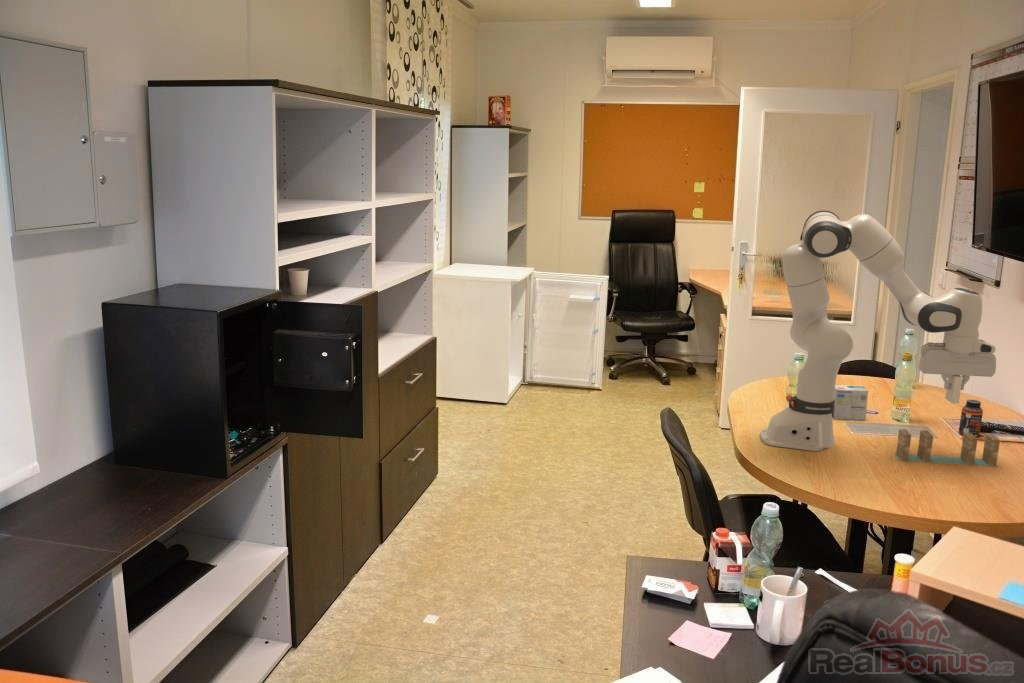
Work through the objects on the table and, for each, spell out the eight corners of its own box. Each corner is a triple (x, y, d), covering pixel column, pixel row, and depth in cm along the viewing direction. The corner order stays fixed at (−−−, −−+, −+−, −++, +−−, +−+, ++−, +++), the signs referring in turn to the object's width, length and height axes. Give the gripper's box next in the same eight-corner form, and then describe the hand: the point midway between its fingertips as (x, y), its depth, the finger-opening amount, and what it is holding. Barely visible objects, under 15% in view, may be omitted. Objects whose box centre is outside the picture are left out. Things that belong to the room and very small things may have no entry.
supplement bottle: (968, 438, 258) (973, 404, 256) (954, 432, 264) (958, 399, 261) (983, 436, 260) (988, 403, 257) (969, 430, 266) (973, 397, 263)
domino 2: (922, 461, 237) (925, 435, 235) (917, 455, 242) (920, 430, 240) (929, 462, 237) (933, 436, 235) (924, 455, 242) (927, 430, 240)
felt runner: (899, 461, 238) (899, 460, 238) (893, 454, 244) (893, 453, 244) (998, 467, 234) (998, 466, 234) (990, 460, 240) (990, 459, 239)
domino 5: (988, 465, 234) (992, 439, 233) (982, 459, 239) (985, 433, 237) (996, 466, 234) (1000, 439, 232) (989, 459, 239) (993, 434, 237)
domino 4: (966, 464, 235) (970, 438, 234) (960, 458, 240) (963, 432, 238) (973, 464, 235) (977, 438, 233) (967, 458, 240) (971, 433, 238)
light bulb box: (859, 414, 282) (862, 384, 280) (866, 420, 275) (869, 390, 273) (828, 413, 283) (831, 383, 281) (833, 419, 276) (836, 389, 274)
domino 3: (951, 403, 237) (955, 376, 236) (945, 398, 242) (948, 372, 240) (958, 403, 237) (962, 377, 235) (952, 398, 242) (955, 372, 240)
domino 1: (900, 460, 238) (904, 434, 236) (896, 454, 243) (899, 429, 241) (908, 460, 238) (911, 435, 236) (903, 454, 243) (906, 429, 241)
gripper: (926, 344, 234) (920, 390, 237) (1001, 347, 231) (994, 394, 234) (918, 339, 240) (912, 384, 243) (992, 342, 237) (985, 388, 240)
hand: (953, 389), depth 239 cm, fingers closed on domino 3, 2 cm apart
